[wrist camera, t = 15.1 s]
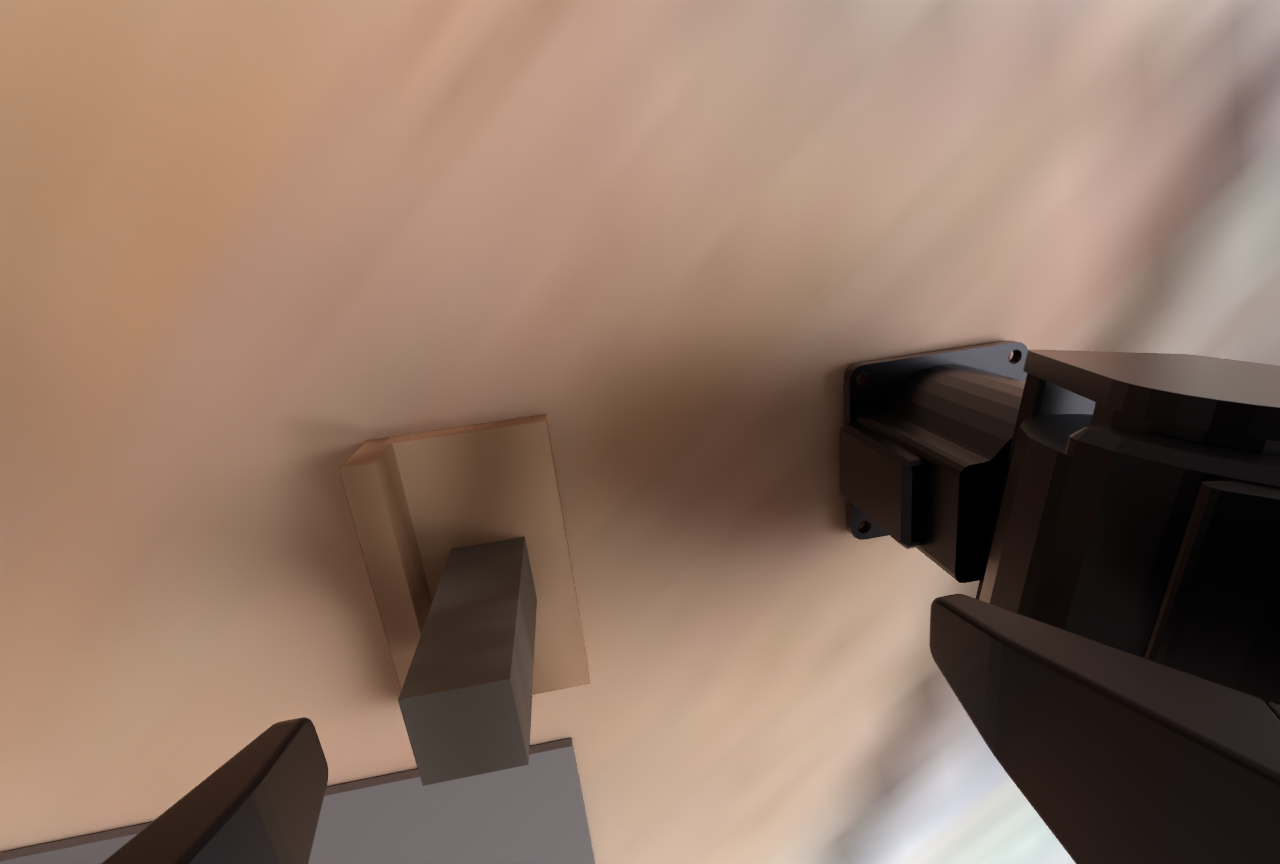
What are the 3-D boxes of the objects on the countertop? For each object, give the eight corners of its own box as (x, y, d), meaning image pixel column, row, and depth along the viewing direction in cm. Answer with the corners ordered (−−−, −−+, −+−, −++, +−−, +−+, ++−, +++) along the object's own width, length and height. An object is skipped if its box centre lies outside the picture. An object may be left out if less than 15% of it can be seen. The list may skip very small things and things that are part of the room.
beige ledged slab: (546, 412, 20) (540, 511, 12) (588, 665, 23) (605, 872, 15) (368, 439, 19) (246, 559, 12) (435, 694, 22) (373, 923, 15)
